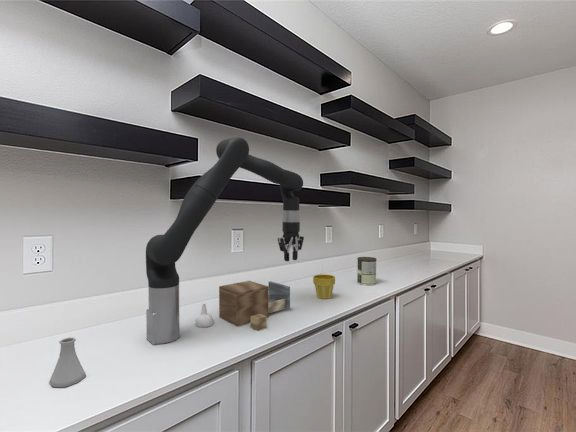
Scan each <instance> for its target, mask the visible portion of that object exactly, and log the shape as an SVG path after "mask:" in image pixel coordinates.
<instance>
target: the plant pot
mask: <svg viewBox="0 0 576 432" xmlns="http://www.w3.org/2000/svg"><path fill="white" fill-rule="evenodd" d="M312 283H313V285H314V287H315V292H316V297H317V298H318V299H322V300H323V299H324V300H326V299H331V298H332V296H333V290H334V285H335V284H336V276H335V275H331V274H325V273H324V274H315V275H313V276H312Z"/></svg>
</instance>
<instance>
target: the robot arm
mask: <svg viewBox="0 0 576 432" xmlns="http://www.w3.org/2000/svg"><path fill="white" fill-rule="evenodd" d="M249 146H250V145H249V143H248V142H247V140H245V139H244V137H239V136H237V137H235V136H234V137H231V138H230V137H229V138H226V139H225V138H224V139H223V140H220V142H218V143H217V146H216V148H215V153H216V154H215V155H216V156H217V159H218V160H217V161H216V163H215V164H214V165H213V166H211V168H210V169H208V170H207V171H205V172H204V173H203V174H202V175H201V176H200V177H199V178H197V180H196V181H195V182H194V183H193V184H192V186H191V187H190V188H189V190H188V191H187V193H185V194H186V195H185V196H184V198H183V199H182V202H181V205H180V208H179V211H178V213H177V216H176V218H175V220H174V221H173V222H172V224H171V225H170V227H169V228H168V229H167V230H166V232H164V234H157V235H154V236H152V237H151V238H150V239H149V240H148V242H147V244H146V247H145V271H146V279H147V283H148V308H147V309H146V314H145V315H146V318H145V319H146V340H147V341H149V342H150V343H151V344H152V345H159V344H161V345H162V344H169V343H171V342H174V341H176V340H178V339H179V338H180V335H181V332H180V329H181V328H180V276H179V273H178V272H177V268H176V263H177V261H179V260H180V258H181V257H182V255H183V253H184V252H185V250H186V248H187V246H188V244H189V242H190V240H191V238H192V236H193V235H194V233H195V232H196V230H197V229H198V227H199V226H200V225H201V224H202V222H203V220H204V219H205V218H206V216H207V214H208V213H209V211H210V210H211V209H212V207H213V206H214V205H215V203H216V201H217V200H218V198H219V197H220V195H221V193H222V192H223V191H224V189H225V187H226V186H227V184H228V183H229V181H231V179H232V177H233V176H234V174H235V173H236V172H237V171H238V169H243V170H245V171H247V172H250V173H253V174H254V175H257V176H259V177H261V178H263V179H265V180H267V181H268V182H271V183H273V184H276V185H279V189H280V194H281V198H282V202H283V203H282V220H281V221H282V226H281V227H282V232H283V235H282V236H281V237H278V238H277V242H278V243H277V244H278V247H279V250H280V252H282V253H283V256H284V258H283V259H284V261H285V262H290V250H291V247H292V260H293V261H297V260H298V256H299V255H298V252H299V251H301V250H302V247H303V242H304V239H305V236H301V235H300V234H299V232H300V231H301V228H300V226H301V214H300V198H299V197H297V196H295V195H294V193H293V192H295V191H300V190H301V189H302V188H303V186H304V178H302V176H301V175H300V174H298V173H296V172H293V171H291V170H287V169H284V168H282V167H280V166H279V165H278V164H275V163H274V162H271V161H269V160H266V159H263V158H260V157H256V156H253V155H252V154H250V147H249Z"/></svg>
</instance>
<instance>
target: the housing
mask: <svg viewBox="0 0 576 432" xmlns="http://www.w3.org/2000/svg"><path fill="white" fill-rule="evenodd" d="M218 291H219V292H218V293H219V294H218V299H219V300H218V305H219V309H218V314H219V315H218V317H219V318H220V319H221V320H223V321H226V322H228V323H230V324H232V325H234V326H235V327H241V326H244V325H247V324H251V316H253V315H257V314H262V315H264V316H266V317H267V319H268V318H269V313H268V285H265V284H262V283H259V282H255V281H251V280H246V281H240V282H236V283H235V282H234V283H231V284H224V285H219V286H218Z"/></svg>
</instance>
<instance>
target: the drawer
mask: <svg viewBox="0 0 576 432" xmlns="http://www.w3.org/2000/svg"><path fill="white" fill-rule="evenodd" d="M267 286H268V299H275V300H277V301H274V302H270V303H268V314H271V313H274V312H278V311H281V310H282V311H283V310H284V309H285V310H290V309H291V286H290V285H286V284H285V285H284V284H282V283H278V282H275V281H271V280H270V281H268V285H267Z"/></svg>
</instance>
